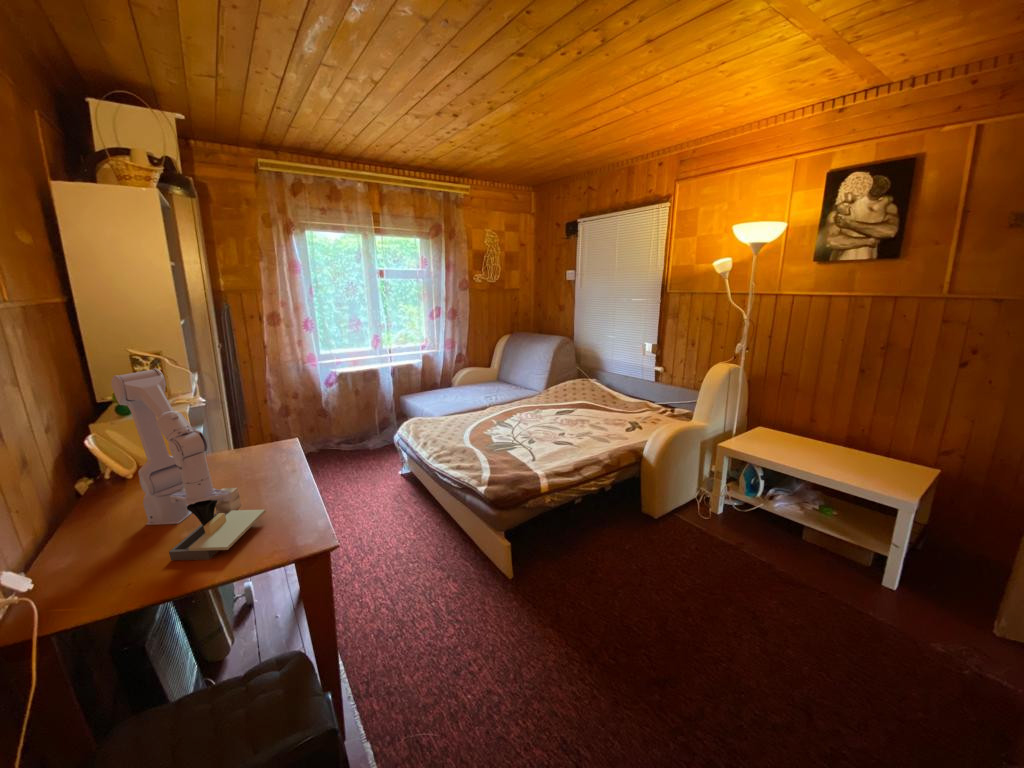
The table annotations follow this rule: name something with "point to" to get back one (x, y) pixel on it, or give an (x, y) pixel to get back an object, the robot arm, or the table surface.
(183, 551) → the grey storage tray
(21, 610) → the table surface
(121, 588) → the table surface
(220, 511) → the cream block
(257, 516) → the lid
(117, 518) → the table surface
